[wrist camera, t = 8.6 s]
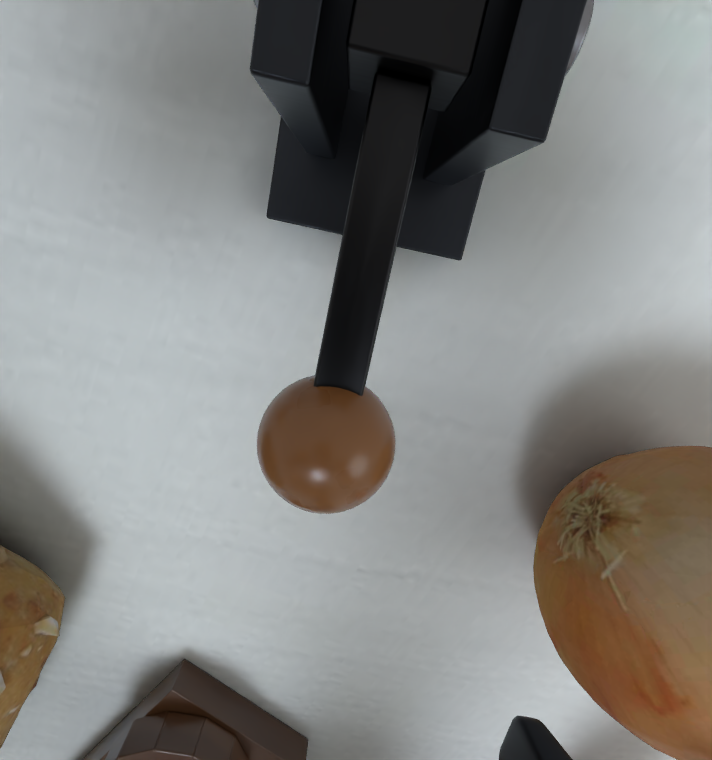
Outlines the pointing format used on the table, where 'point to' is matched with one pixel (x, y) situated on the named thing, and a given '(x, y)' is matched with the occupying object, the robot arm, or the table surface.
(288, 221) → the bracket
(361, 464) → the lever
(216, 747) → the button block
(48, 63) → the table surface
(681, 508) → the onion
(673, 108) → the table surface
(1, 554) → the bread
